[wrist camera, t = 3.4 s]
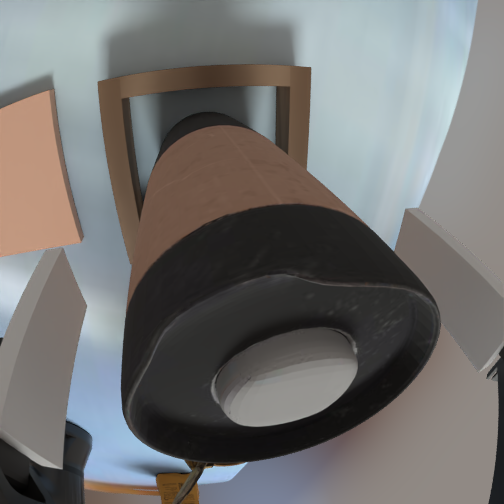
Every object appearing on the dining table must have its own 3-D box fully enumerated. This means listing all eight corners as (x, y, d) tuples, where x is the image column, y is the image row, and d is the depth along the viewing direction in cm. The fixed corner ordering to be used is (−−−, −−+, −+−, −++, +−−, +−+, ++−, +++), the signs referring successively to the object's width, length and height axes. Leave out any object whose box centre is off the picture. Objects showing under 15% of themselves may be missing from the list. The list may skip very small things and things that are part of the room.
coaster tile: (-16, 255, 20) (-20, 261, 20) (-52, 136, 13) (-58, 139, 12) (83, 236, 23) (81, 242, 22) (54, 89, 16) (49, 90, 15)
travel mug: (234, 210, 25) (333, 449, 9) (146, 188, 22) (114, 462, 6) (269, 126, 22) (488, 298, 5) (175, 95, 19) (142, 211, 3)
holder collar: (134, 244, 24) (130, 264, 22) (108, 81, 17) (97, 81, 14) (288, 224, 27) (300, 241, 25) (295, 67, 19) (311, 67, 17)
